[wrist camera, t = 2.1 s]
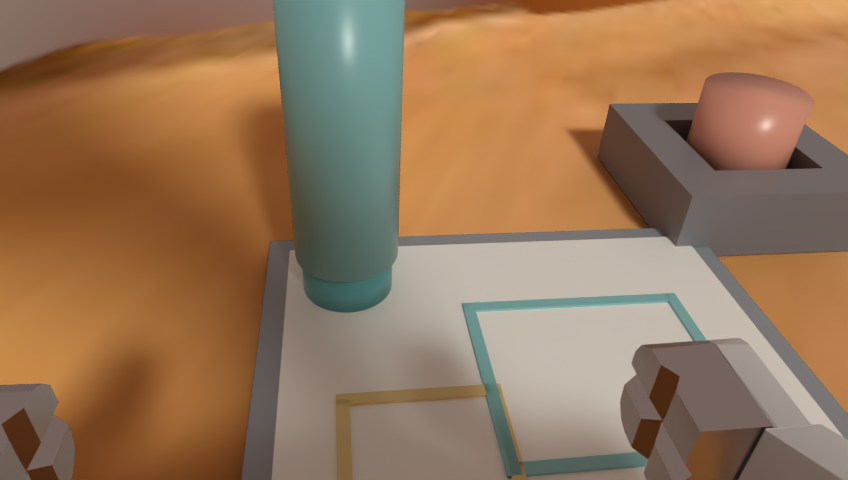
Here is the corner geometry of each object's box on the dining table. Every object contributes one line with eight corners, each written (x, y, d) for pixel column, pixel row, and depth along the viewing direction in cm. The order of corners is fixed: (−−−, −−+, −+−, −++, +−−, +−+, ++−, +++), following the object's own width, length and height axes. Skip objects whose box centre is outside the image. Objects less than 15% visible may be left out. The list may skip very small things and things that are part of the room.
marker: (294, 320, 22) (247, -169, 13) (298, 255, 25) (261, -178, 16) (402, 314, 22) (419, -161, 14) (393, 251, 25) (403, -171, 17)
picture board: (228, 616, 14) (224, 601, 14) (271, 251, 26) (270, 236, 25) (934, 541, 17) (948, 526, 16) (688, 236, 28) (693, 222, 28)
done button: (707, 197, 28) (737, 112, 26) (664, 150, 31) (687, 72, 29) (799, 194, 28) (836, 111, 26) (746, 149, 32) (775, 72, 30)
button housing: (671, 257, 27) (692, 196, 25) (597, 156, 34) (609, 104, 32) (865, 250, 28) (898, 190, 26) (753, 153, 35) (773, 102, 33)
